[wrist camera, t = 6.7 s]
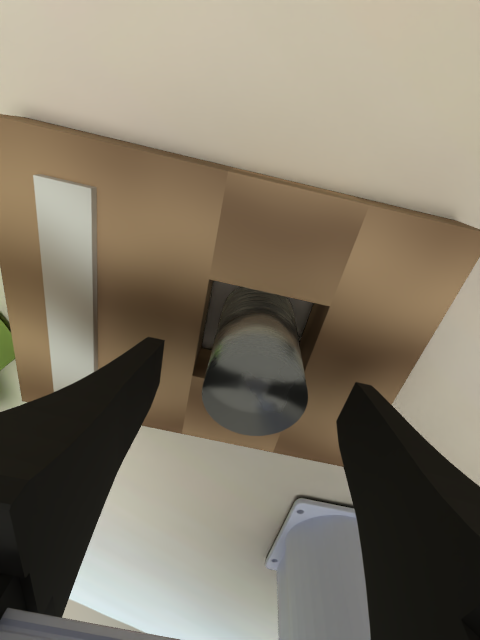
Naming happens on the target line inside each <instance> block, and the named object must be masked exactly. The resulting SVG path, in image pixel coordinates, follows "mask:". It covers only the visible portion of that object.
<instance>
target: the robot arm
mask: <svg viewBox="0 0 480 640" xmlns="http://www.w3.org/2000/svg"><path fill="white" fill-rule="evenodd" d="M164 342H165V340H162V339H157V338H152V337H147V338H145V339H144V340H142V341H141V342H139V343H138V344H136V345H135V346H134V347H132V348H131V349H129V350H128V351H126V352H125V353H123V354H122V355H120V356H119V357H117V358H116V359H114V360H113V361H111V362H110V363H108V364H107V365H105V366H103V367H102V368H100V369H98V370H96V371H95V372H93V373H91V374H89V375H88V376H86V377H84V378H82V379H80V380H79V381H77V382H75V383H73V384H71V385H68V386H66V387H64V388H62V389H60V390H58V391H55V392H53V393H51V394H48V395H46V396H43V397H41V398H38V399H36V400H33V401H30V402H28V403H25V404H23V405H20V406H17V407H14V408H11V409H9V410H6V411H3V412H0V640H179V639H174V638H169V637H163V636H158V635H152V634H147V633H141V632H136V631H131V630H125V629H120V628H114V627H109V626H103V625H98V624H93V623H87V622H82V621H77V620H70V619H66V618H62V615H63V613H64V610H65V607H66V604H67V601H68V599H69V596H70V593H71V591H72V588H73V585H74V582H75V580H76V577H77V574H78V571H79V569H80V566H81V563H82V561H83V558H84V556H85V553H86V550H87V548H88V545H89V542H90V540H91V537H92V534H93V532H94V529H95V527H96V524H97V522H98V519H99V517H100V514H101V512H102V509H103V506H104V504H105V501H106V499H107V496H108V494H109V492H110V489H111V487H112V484H113V482H114V479H115V477H116V474H117V472H118V470H119V468H120V466H121V464H122V462H123V459H124V458H125V456H126V454H127V452H128V450H129V448H130V446H131V444H132V442H133V440H134V439H135V437H136V435H137V433H138V431H139V429H140V427H141V425H142V423H143V421H144V419H145V418H146V416H147V414H148V412H149V410H150V408H151V405H152V403H153V400H154V398H155V395H156V392H157V389H158V387H159V384H160V377H161V368H162V359H163V351H164ZM336 424H337V435H338V443H339V449H340V453H341V458H342V462H343V466H344V470H345V474H346V478H347V481H348V485H349V489H350V493H351V497H352V501H353V505H354V508H349V507H344V506H339V505H334V504H329V503H324V502H319V501H314V500H309V499H304V498H300V499H297V500H296V501H295V502H294V504H293V506H292V508H291V510H290V512H289V514H288V516H287V518H286V520H285V522H284V524H283V526H282V529H281V531H280V533H279V535H278V537H277V539H276V541H275V543H274V545H273V547H272V549H271V551H270V553H269V555H268V557H267V559H266V561H265V566H266V568H268V569H271V570H276V571H277V599H278V635H279V640H480V487H479V486H478V485H477V484H476V483H474V482H473V481H472V480H471V479H469V478H468V477H467V476H466V475H465V474H463V473H462V472H461V471H460V470H459V469H457V468H456V467H455V466H454V465H453V464H451V463H450V462H449V461H448V460H447V459H446V458H445V457H443V456H442V455H441V454H440V453H439V452H438V451H437V450H436V449H435V448H434V447H433V446H432V445H431V444H430V443H428V442H427V441H426V440H425V439H424V438H423V437H422V436H421V435H420V434H419V433H418V432H417V431H416V430H415V429H414V428H413V427H412V426H411V425H410V424H409V423H408V422H407V421H406V420H405V419H404V418H403V417H402V415H401V414H400V413H399V412H398V411H397V410H396V409H395V408H394V407H393V406H392V405H391V404H390V403H389V402H388V401H387V400H386V399H385V398H384V397H383V396H382V395H381V394H380V393H379V392H378V391H377V390H376V389H375V388H374V387H373V386H372V385H368V384H363V383H359V382H355V384H354V386H353V388H352V390H351V392H350V394H349V396H348V398H347V400H346V402H345V404H344V406H343V408H342V410H341V412H340V414H339V416H338V419H337V421H336Z"/></svg>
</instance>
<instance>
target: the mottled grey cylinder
mask: <svg viewBox="0 0 480 640" xmlns="http://www.w3.org/2000/svg"><path fill="white" fill-rule="evenodd" d="M202 401H203V404H204V407H205V409H206V411H207V412H208V414H209V415H210V416H211V417H212V419H213V420H215V421H216V422H217V423H218V424H220V425H221V426H222V427H224V428H226V429H228V430H230V431H232V432H235V433H239V434H243V435H249V436H265V435H271V434H275V433H278V432H281V431H283V430H285V429H287V428H289V427H290V426H292V425H293V424H295V423H296V422H297V421H298V420H299V419H300V418H301V416H302V415H303V413H304V411H305V409H306V407H307V403H308V390H307V385H306V379H305V373H304V368H303V362H302V357H301V351H300V346H299V340H298V334H297V329H296V323H295V318H294V312H293V308H292V305H291V302H290V300H289V299H288V297H286V296H281V295H277V294H272V293H268V292H263V291H259V290H254V289H250V288H245V287H240V288H238V289H236V290H235V291H233V292H232V293H231V294H230V295H229V297H228V298H227V299H226V301H225V303H224V306H223V310H222V313H221V317H220V321H219V325H218V329H217V333H216V337H215V340H214V344H213V348H212V352H211V356H210V360H209V364H208V367H207V371H206V375H205V379H204V383H203V387H202Z"/></svg>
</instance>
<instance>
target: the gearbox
mask: <svg viewBox="0 0 480 640" xmlns="http://www.w3.org/2000/svg"><path fill="white" fill-rule="evenodd" d="M14 359H15V353H14V347H13V341H12V335H11V332H10V331H9V330H8V328H7V327H6V326H5V325H4V323H3V322H2V321H1V320H0V370H1V369H3V368H4V367H5V366H6V365H8V364H9V363H10V362H11V361H12V360H14Z"/></svg>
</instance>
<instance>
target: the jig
mask: <svg viewBox="0 0 480 640" xmlns="http://www.w3.org/2000/svg"><path fill="white" fill-rule="evenodd" d="M479 257H480V229H477V228H474V227H472V226H469V225H466V224H464V223H461V222H458V221H455V220H451V219H447V218H442V217H438V216H434V215H430V214H426V213H422V212H417V211H413V210H409V209H405V208H401V207H397V206H392V205H388V204H384V203H380V202H376V201H371V200H367V199H363V198H359V197H355V196H351V195H346V194H342V193H338V192H334V191H330V190H326V189H321V188H317V187H313V186H309V185H305V184H300V183H296V182H292V181H288V180H284V179H280V178H275V177H271V176H267V175H263V174H259V173H254V172H250V171H246V170H242V169H238V168H234V167H229V166H225V165H221V164H217V163H213V162H209V161H204V160H200V159H196V158H192V157H188V156H183V155H179V154H175V153H171V152H167V151H163V150H158V149H154V148H150V147H146V146H142V145H138V144H133V143H129V142H125V141H121V140H117V139H112V138H108V137H104V136H100V135H96V134H92V133H87V132H83V131H79V130H75V129H71V128H66V127H62V126H58V125H54V124H50V123H46V122H41V121H37V120H33V119H29V118H25V117H18V116H10V115H2V114H0V267H1V273H2V279H3V285H4V291H5V298H6V304H7V310H8V316H9V322H10V328H11V335H12V341H13V347H14V353H15V359H16V365H17V372H18V378H19V384H20V390H21V396H22V401H25V402H30V401H33V400H36V399H38V398H41V397H43V396H46V395H48V394H51V393H53V392H55V391H58V390H60V389H62V388H64V387H66V386H68V385H71V384H73V383H75V382H77V381H79V380H80V379H82V378H84V377H86V376H88V375H89V374H91V373H93V372H95V371H96V370H98V369H100V368H102V367H103V366H105V365H107V364H108V363H110V362H111V361H113V360H114V359H116V358H117V357H119V356H120V355H122V354H123V353H125V352H126V351H128V350H129V349H131V348H132V347H134V346H135V345H136V344H138V343H139V342H141V341H142V340H144V339H145V338H147V337H152V338H157V339H162V340H165V342H164V351H163V359H162V368H161V377H160V384H159V387H158V389H157V392H156V395H155V398H154V400H153V403H152V405H151V408H150V410H149V412H148V414H147V416H146V418H145V419H144V421H143V423H142V426H147V427H152V428H157V429H162V430H166V431H171V432H176V433H181V434H186V435H191V436H196V437H201V438H206V439H210V440H215V441H220V442H225V443H230V444H235V445H240V446H245V447H249V448H254V449H259V450H264V451H269V452H274V453H279V454H284V455H289V456H293V457H298V458H303V459H308V460H313V461H318V462H323V463H328V464H333V465H337V466H342V467H344V466H343V462H342V458H341V453H340V449H339V443H338V435H337V424H336V421H337V419H338V416H339V414H340V412H341V410H342V408H343V406H344V404H345V402H346V400H347V398H348V396H349V394H350V392H351V390H352V388H353V386H354V384H355V382H359V383H363V384H368V385H372V386H373V387H374V388H375V389H376V390H377V391H378V392H379V393H380V394H381V395H382V396H383V397H384V398H385V399H386V400H387V401H388V402H389V403H390V404H392V403H393V401H394V399H395V398H396V396H397V394H398V393H399V391H400V389H401V388H402V386H403V384H404V383H405V381H406V379H407V378H408V376H409V374H410V373H411V371H412V369H413V368H414V366H415V364H416V363H417V361H418V359H419V357H420V356H421V354H422V352H423V351H424V349H425V347H426V346H427V344H428V342H429V341H430V339H431V337H432V336H433V334H434V332H435V331H436V329H437V327H438V326H439V324H440V322H441V321H442V319H443V317H444V316H445V314H446V312H447V311H448V309H449V307H450V306H451V304H452V302H453V301H454V299H455V297H456V295H457V294H458V292H459V290H460V289H461V287H462V285H463V284H464V282H465V280H466V279H467V277H468V275H469V274H470V272H471V270H472V269H473V267H474V265H475V264H476V262H477V260H478V259H479ZM213 280H214V281H219V282H223V283H228V284H232V285H237V286H241V287H245V288H250V289H254V290H259V291H263V292H268V293H272V294H277V295H281V296H286V297H290V298H294V299H299V300H303V301H308V302H312V303H314V305H313V307H312V310H311V313H310V316H309V318H308V321H307V324H306V327H305V330H304V332H303V335H302V338H301V341H300V343H299V346H300V351H301V357H302V362H303V368H304V373H305V379H306V385H307V390H308V403H307V407H306V409H305V411H304V413H303V415H302V416H301V418H300V419H299V420H298V421H297V422H296V423H295V424H293V425H292V426H290V427H289V428H287V429H285V430H283V431H281V432H278V433H275V434H271V435H265V436H249V435H243V434H239V433H235V432H232V431H230V430H228V429H226V428H224V427H222V426H221V425H220V424H218V423H217V422H216V421H215V420H213V419H212V417H211V416H210V415H209V414H208V412H207V411H206V409H205V407H204V404H203V401H202V387H203V383H204V379H205V375H206V371H207V367H208V364H209V360H210V356H211V352H212V350H208V349H203V348H201V346H202V340H203V335H204V329H205V324H206V318H207V313H208V307H209V302H210V296H211V291H212V286H213Z"/></svg>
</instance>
